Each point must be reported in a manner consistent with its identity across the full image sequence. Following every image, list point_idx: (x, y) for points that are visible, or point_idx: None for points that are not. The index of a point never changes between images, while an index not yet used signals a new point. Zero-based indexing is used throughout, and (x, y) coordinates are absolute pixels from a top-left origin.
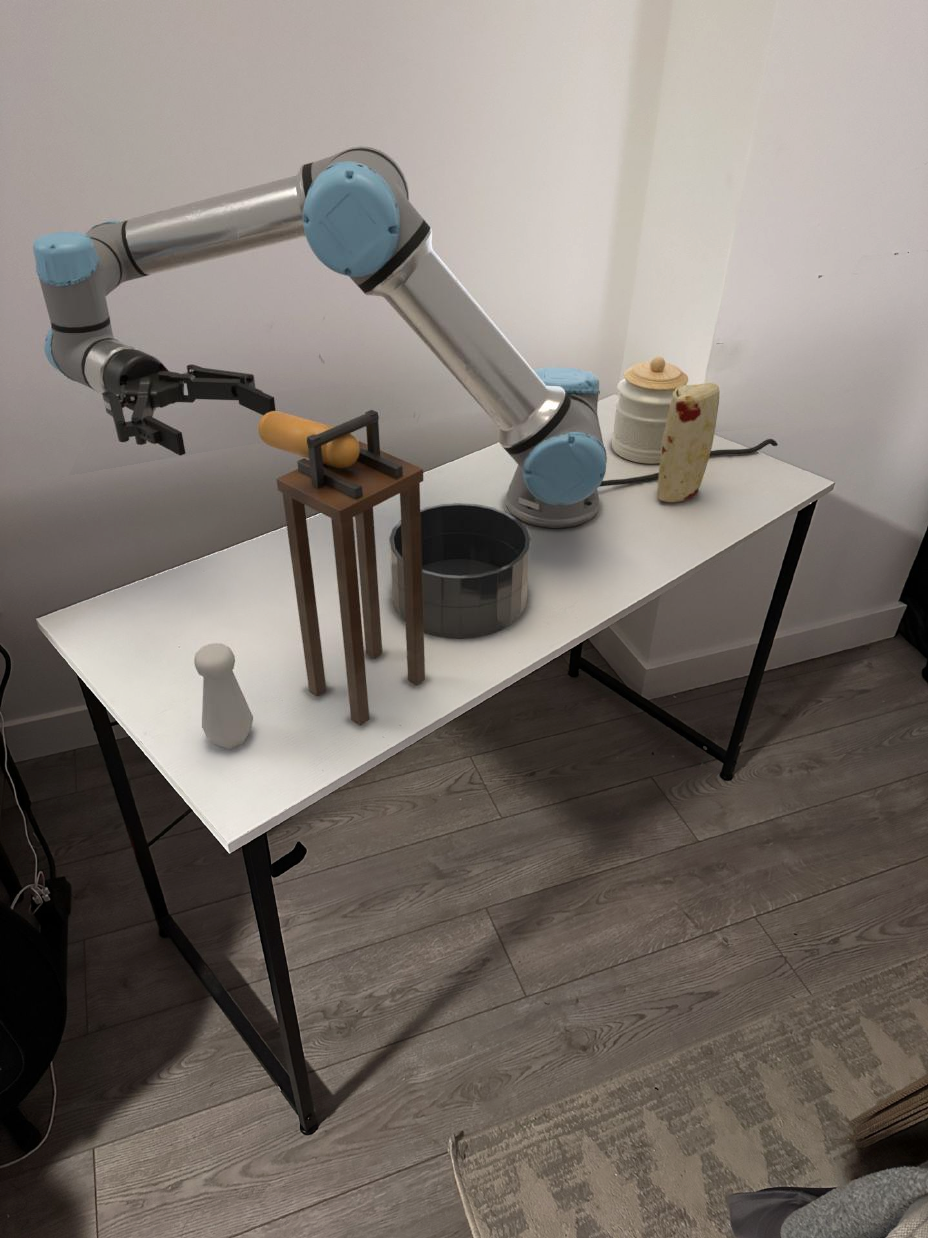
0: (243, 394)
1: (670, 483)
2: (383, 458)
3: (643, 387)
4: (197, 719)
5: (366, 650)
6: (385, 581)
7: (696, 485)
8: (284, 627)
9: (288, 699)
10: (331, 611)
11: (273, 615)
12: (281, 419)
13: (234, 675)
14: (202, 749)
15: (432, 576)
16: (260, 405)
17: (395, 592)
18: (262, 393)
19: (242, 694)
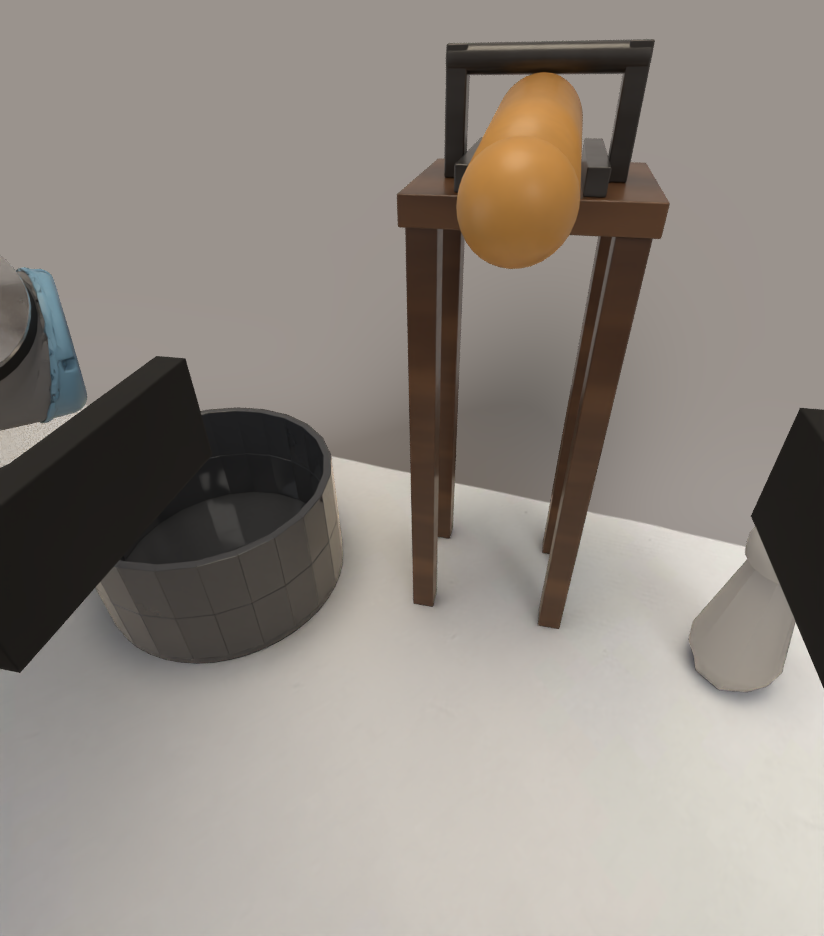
0: (35, 546)
1: None
2: (478, 143)
3: None
4: (756, 744)
5: (433, 599)
6: (214, 688)
7: None
8: (448, 780)
9: (596, 644)
10: (352, 724)
11: (425, 837)
12: (550, 123)
13: (741, 566)
14: (779, 686)
15: (331, 465)
16: (154, 459)
17: (300, 594)
18: (112, 398)
19: (719, 591)
